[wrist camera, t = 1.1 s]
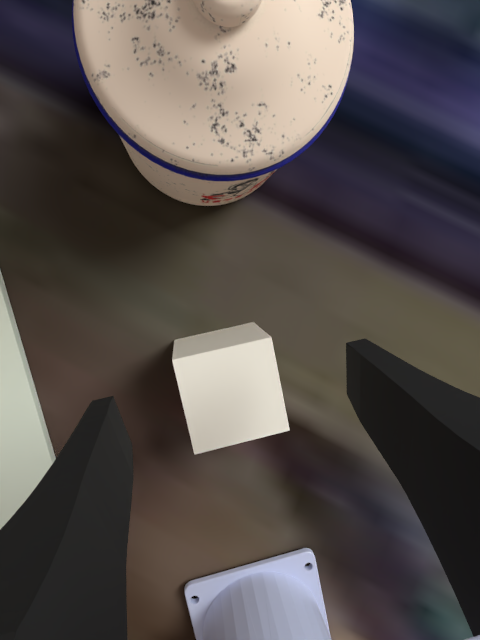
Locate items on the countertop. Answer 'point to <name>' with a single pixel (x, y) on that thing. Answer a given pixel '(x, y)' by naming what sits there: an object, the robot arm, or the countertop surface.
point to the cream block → (229, 386)
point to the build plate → (18, 420)
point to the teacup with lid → (214, 85)
